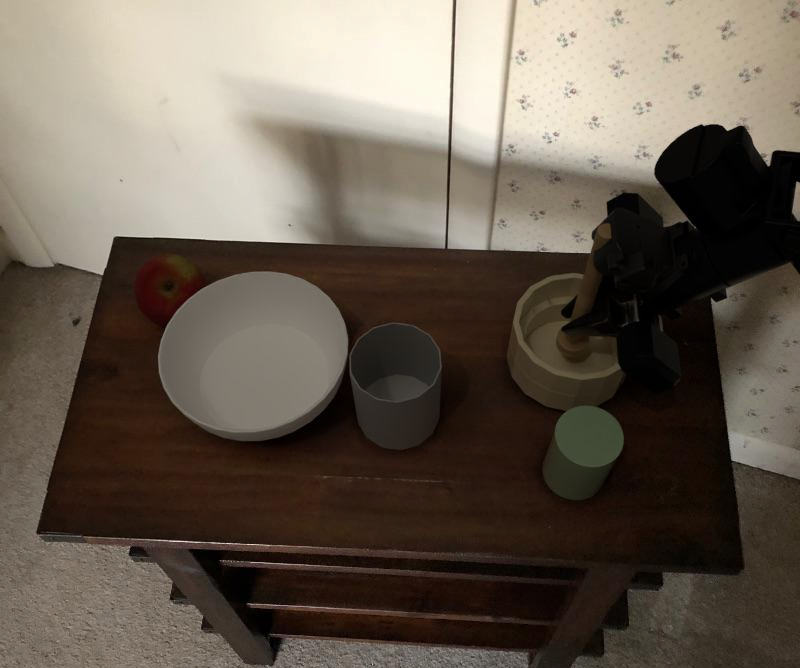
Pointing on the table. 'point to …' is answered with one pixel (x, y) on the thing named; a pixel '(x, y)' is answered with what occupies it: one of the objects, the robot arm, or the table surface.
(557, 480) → the green cylinder pedestal
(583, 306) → the stirring stick
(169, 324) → the bowl
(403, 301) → the table surface
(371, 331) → the cup
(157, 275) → the apple
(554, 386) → the mixing bowl
